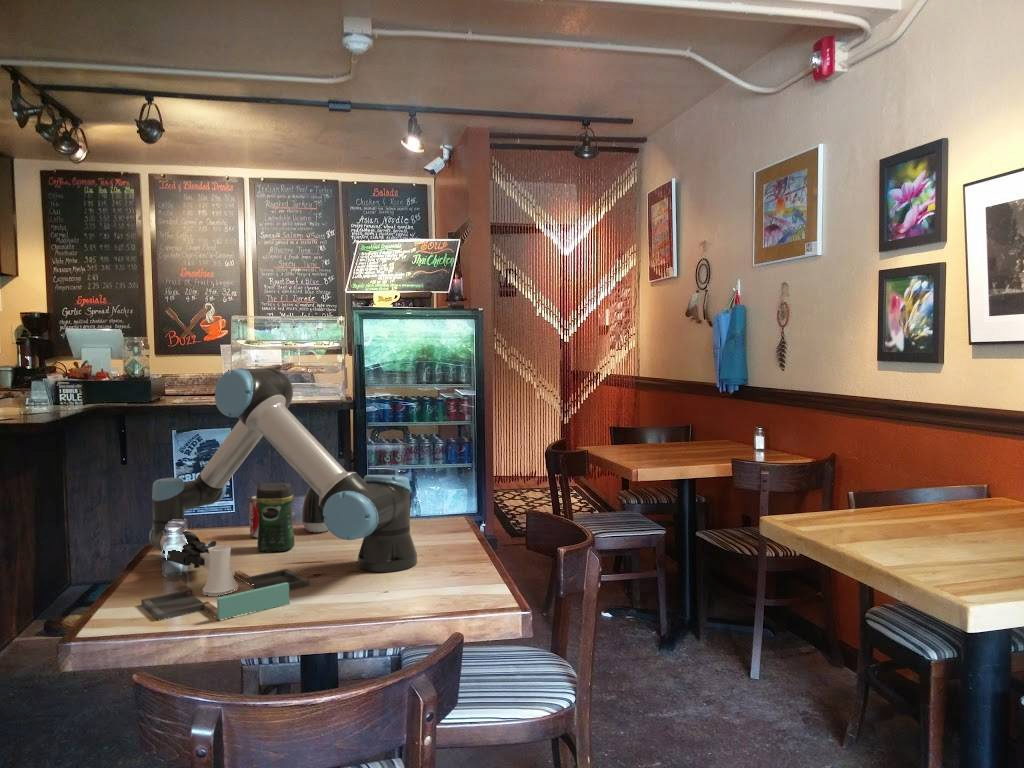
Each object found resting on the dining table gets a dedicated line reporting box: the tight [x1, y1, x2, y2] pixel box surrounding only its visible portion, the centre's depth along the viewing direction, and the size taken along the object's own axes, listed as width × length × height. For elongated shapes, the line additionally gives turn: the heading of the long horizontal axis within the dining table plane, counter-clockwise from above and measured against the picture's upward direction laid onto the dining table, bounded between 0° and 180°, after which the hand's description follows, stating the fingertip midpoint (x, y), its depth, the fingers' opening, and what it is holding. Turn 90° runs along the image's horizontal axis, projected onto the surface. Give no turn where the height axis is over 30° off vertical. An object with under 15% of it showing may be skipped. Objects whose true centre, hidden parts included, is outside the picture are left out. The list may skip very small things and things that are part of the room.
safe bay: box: [216, 582, 290, 620], centre depth 148 cm, size 1×15×4 cm, turn 132°
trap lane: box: [141, 568, 310, 621], centre depth 159 cm, size 27×33×1 cm
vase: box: [202, 544, 239, 597], centre depth 161 cm, size 8×8×10 cm
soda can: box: [248, 495, 259, 539], centre depth 212 cm, size 7×7×12 cm
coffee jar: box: [255, 482, 295, 553], centre depth 197 cm, size 10×8×19 cm
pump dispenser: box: [301, 486, 329, 534], centre depth 218 cm, size 10×10×15 cm
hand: (212, 564), depth 163 cm, fingers closed
